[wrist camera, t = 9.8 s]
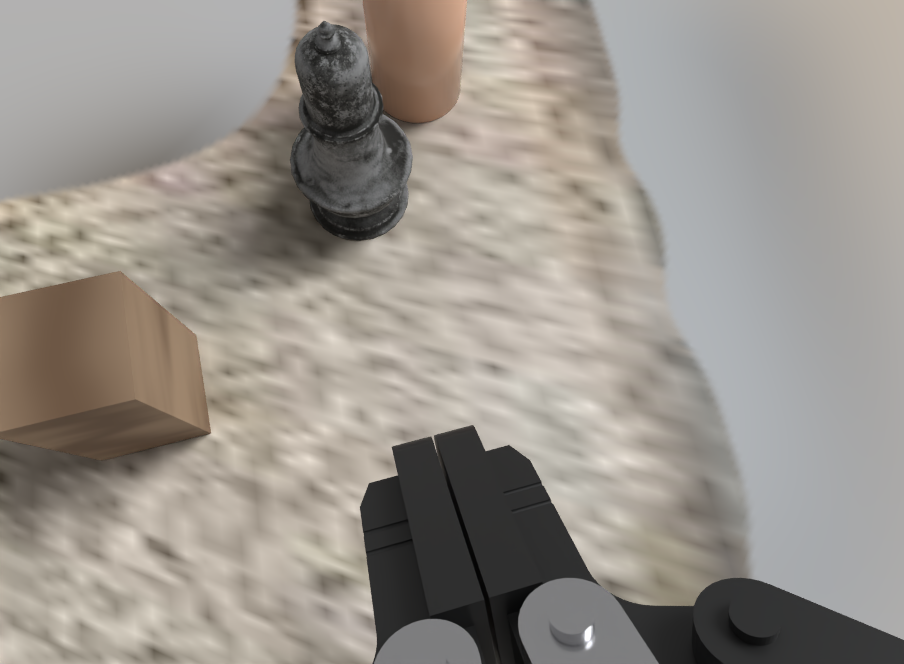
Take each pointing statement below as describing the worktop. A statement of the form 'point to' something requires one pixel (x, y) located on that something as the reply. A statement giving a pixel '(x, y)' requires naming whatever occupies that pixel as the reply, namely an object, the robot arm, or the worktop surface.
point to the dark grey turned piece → (347, 139)
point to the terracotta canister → (416, 55)
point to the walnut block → (97, 370)
